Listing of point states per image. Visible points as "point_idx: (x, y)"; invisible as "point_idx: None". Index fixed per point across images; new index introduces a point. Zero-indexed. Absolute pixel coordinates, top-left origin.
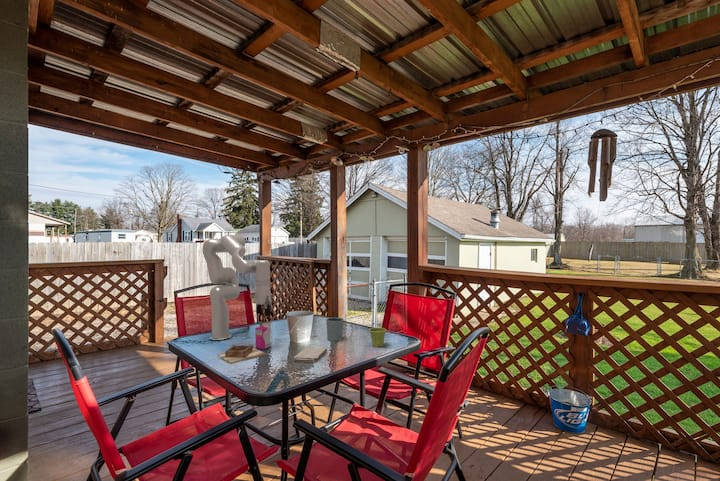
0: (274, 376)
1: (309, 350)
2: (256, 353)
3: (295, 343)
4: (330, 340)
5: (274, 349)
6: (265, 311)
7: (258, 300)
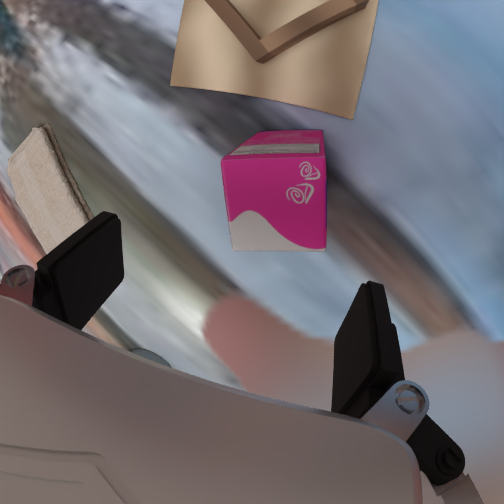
0: (15, 20)
1: (55, 214)
2: (205, 52)
3: (215, 292)
4: (141, 350)
5: (217, 175)
6: (66, 244)
7: (98, 457)
